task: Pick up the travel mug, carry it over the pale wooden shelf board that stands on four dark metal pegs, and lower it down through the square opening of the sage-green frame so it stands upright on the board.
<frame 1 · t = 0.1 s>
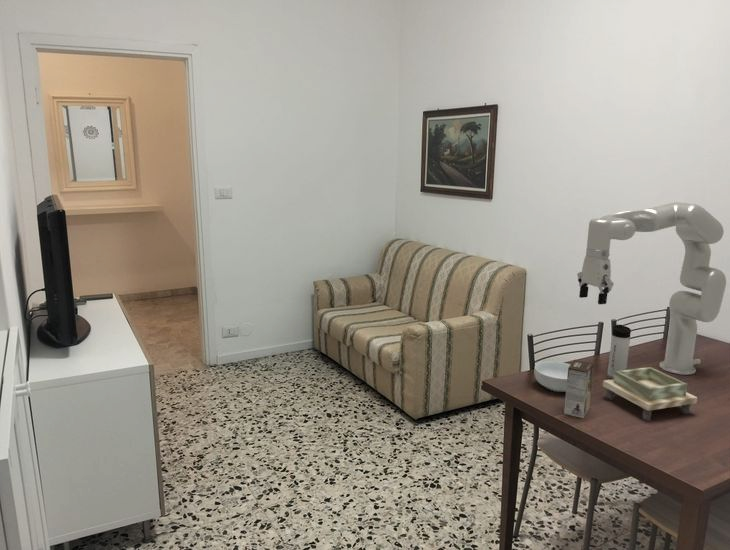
hand: (592, 300, 200), 31 cm above the table, tool pointing down, fingers open, 9 cm apart
framed shelf: (646, 405, 188), on the table
coffee box: (576, 411, 182), on the table
cereal bowl: (557, 388, 201), on the table
travel mug: (615, 377, 212), on the table
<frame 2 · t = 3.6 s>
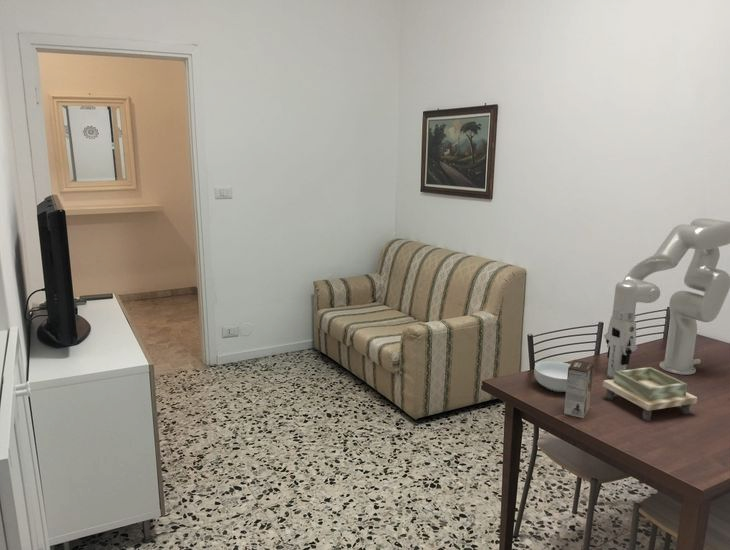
hand: (617, 360, 210), 7 cm above the table, tool pointing down, fingers closed on travel mug, 6 cm apart
travel mug: (615, 377, 212), on the table, touching gripper
everything else where it was.
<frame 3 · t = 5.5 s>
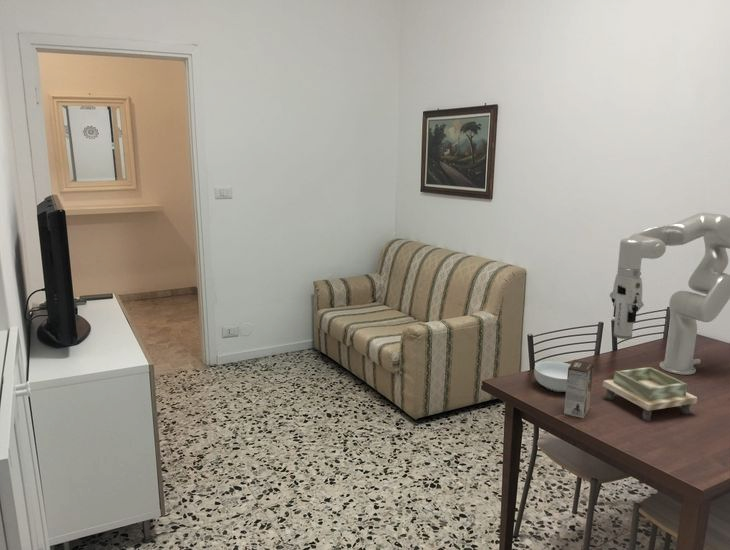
hand: (624, 319, 207), 23 cm above the table, tool pointing down, fingers closed on travel mug, 6 cm apart
travel mug: (622, 336, 208), point 16 cm above the table, touching gripper
everything else where it was.
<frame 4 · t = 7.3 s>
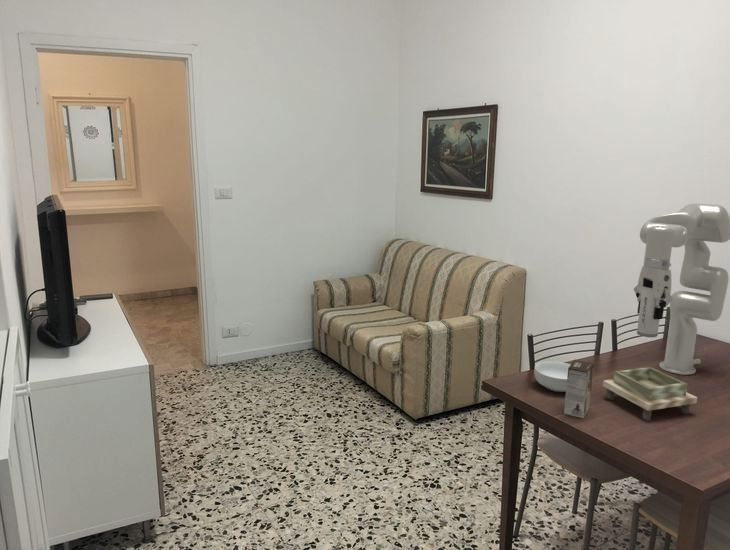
hand: (649, 315, 187), 30 cm above the table, tool pointing down, fingers closed on travel mug, 6 cm apart
travel mug: (646, 335, 188), point 23 cm above the table, touching gripper
everything else where it was.
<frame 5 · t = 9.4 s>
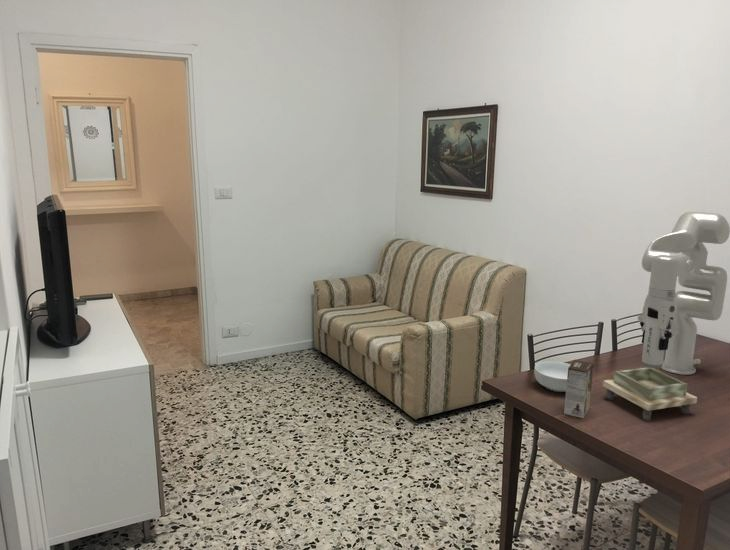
hand: (654, 345, 183), 21 cm above the table, tool pointing down, fingers closed on travel mug, 6 cm apart
travel mug: (651, 365, 185), point 14 cm above the table, touching gripper
everything else where it was.
when the fingers open (14 cm above the table, at t = 11.2 s): travel mug drops 1 cm, resting on framed shelf.
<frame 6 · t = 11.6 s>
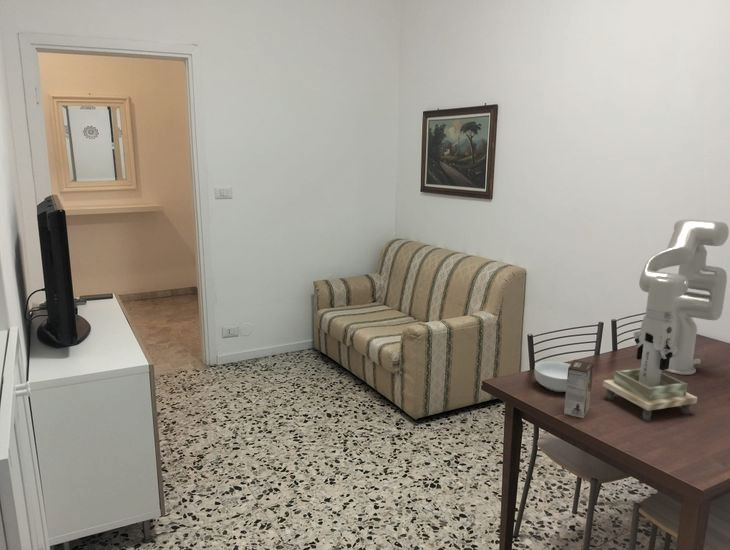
hand: (652, 364, 185), 15 cm above the table, tool pointing down, fingers open, 9 cm apart
travel mug: (647, 388, 187), point 6 cm above the table, touching framed shelf
everything else where it was.
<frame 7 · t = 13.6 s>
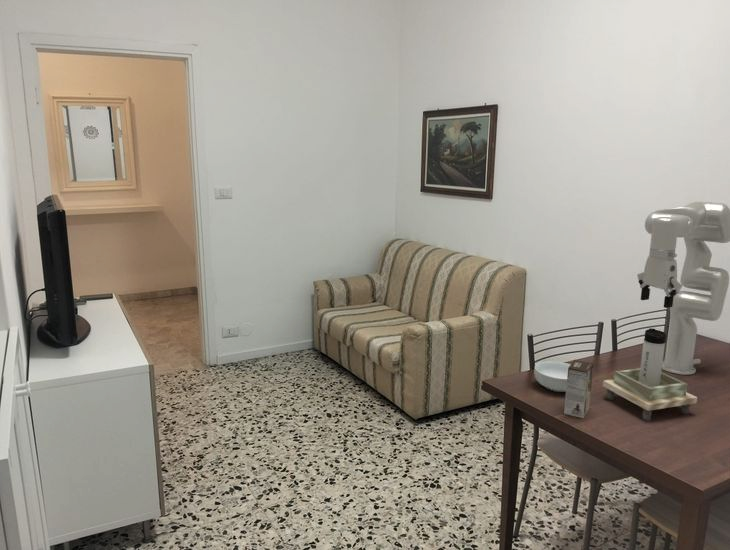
hand: (656, 303, 189), 33 cm above the table, tool pointing down, fingers open, 9 cm apart
nothing on the table moved.
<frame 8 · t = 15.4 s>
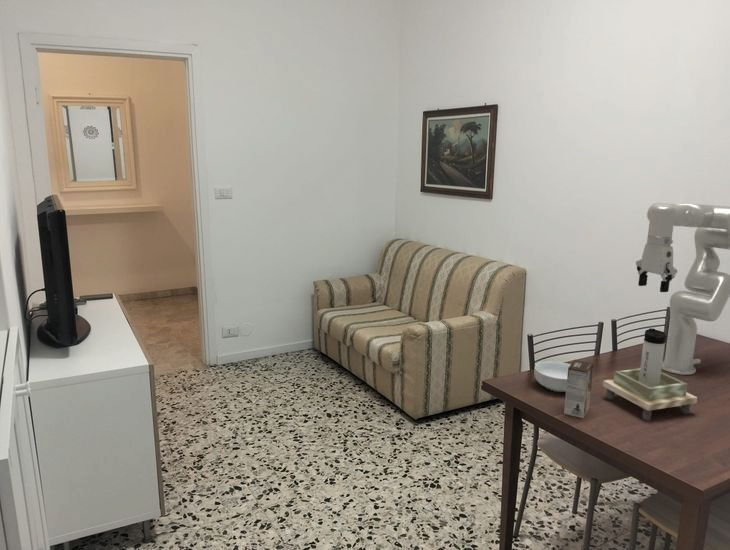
hand: (652, 288, 198), 36 cm above the table, tool pointing down, fingers open, 9 cm apart
nothing on the table moved.
at the end: travel mug inside the target area on the framed shelf (0.5 cm from its centre), point 5.8 cm above the framed shelf's base; travel mug tilted 0°; the gripper is holding nothing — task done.
